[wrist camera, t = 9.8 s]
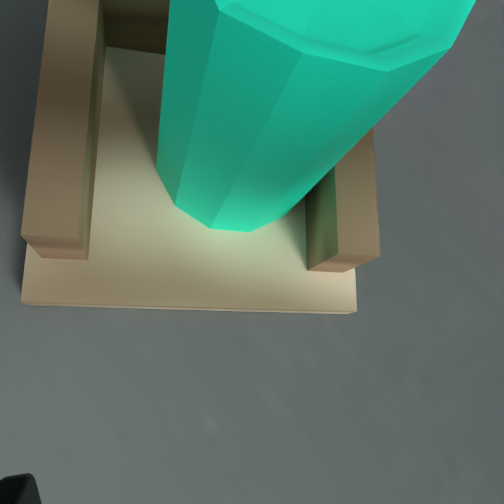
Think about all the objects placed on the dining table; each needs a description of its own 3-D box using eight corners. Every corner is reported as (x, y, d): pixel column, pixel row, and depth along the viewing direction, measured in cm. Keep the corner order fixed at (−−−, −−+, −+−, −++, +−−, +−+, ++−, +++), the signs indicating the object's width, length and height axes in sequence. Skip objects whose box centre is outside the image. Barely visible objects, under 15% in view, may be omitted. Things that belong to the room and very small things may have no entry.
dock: (346, 314, 19) (434, 292, 13) (27, 305, 16) (-33, 274, 11) (334, 55, 22) (403, -53, 16) (60, 11, 19) (27, -136, 14)
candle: (236, 64, 19) (373, -359, 8) (333, 171, 19) (614, -103, 8) (120, 146, 17) (86, -261, 6) (229, 265, 17) (399, 80, 6)
